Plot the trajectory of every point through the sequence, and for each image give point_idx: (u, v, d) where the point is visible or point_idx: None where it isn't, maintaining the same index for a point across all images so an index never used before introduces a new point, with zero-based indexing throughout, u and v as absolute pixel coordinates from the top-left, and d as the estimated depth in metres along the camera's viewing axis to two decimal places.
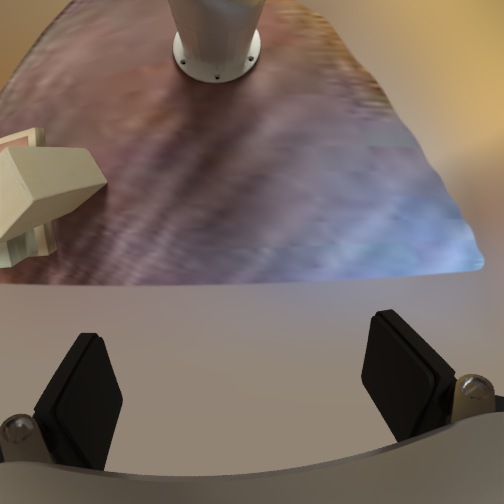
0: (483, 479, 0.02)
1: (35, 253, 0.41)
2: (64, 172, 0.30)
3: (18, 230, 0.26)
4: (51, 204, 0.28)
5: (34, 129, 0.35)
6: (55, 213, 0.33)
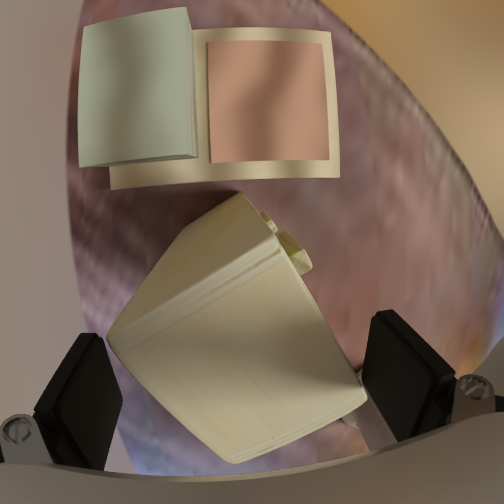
0: (483, 479, 0.02)
1: None
2: None
3: None
4: None
5: (336, 175, 0.26)
6: None
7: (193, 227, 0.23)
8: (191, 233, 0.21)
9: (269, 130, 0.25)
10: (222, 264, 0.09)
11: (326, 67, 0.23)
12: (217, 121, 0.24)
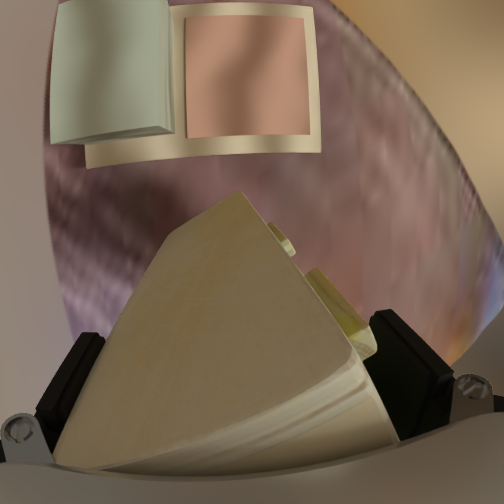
0: (483, 479, 0.02)
1: None
2: None
3: None
4: None
5: (317, 150, 0.25)
6: None
7: (179, 239, 0.18)
8: (176, 252, 0.15)
9: (248, 104, 0.23)
10: (239, 413, 0.04)
11: (307, 41, 0.22)
12: (194, 96, 0.22)
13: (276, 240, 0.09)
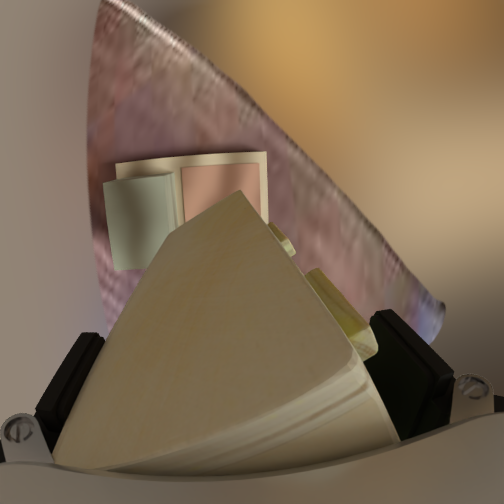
0: (483, 479, 0.02)
1: None
2: None
3: None
4: None
5: None
6: None
7: (179, 239, 0.18)
8: (176, 252, 0.15)
9: None
10: (238, 414, 0.04)
11: (261, 181, 0.40)
12: None
13: (276, 240, 0.09)
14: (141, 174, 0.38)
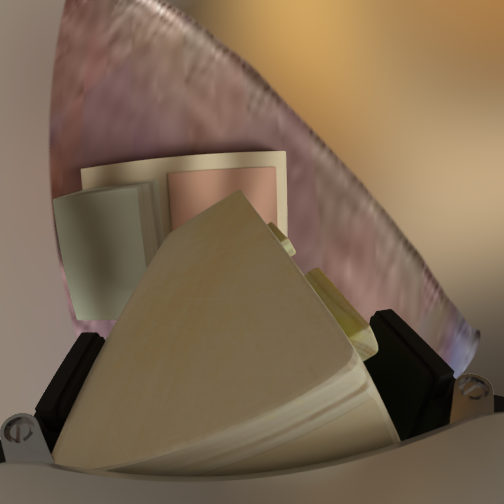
0: (483, 479, 0.02)
1: None
2: None
3: None
4: None
5: None
6: None
7: (179, 239, 0.18)
8: (176, 252, 0.15)
9: None
10: (238, 415, 0.04)
11: (279, 192, 0.29)
12: None
13: (276, 239, 0.09)
14: (114, 183, 0.27)
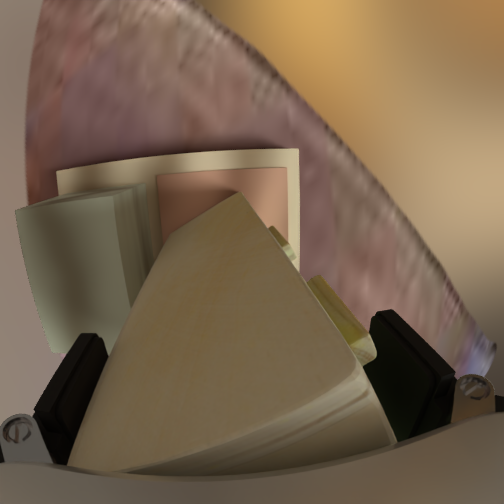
0: (483, 479, 0.02)
1: None
2: None
3: None
4: None
5: None
6: None
7: (181, 241, 0.18)
8: (179, 255, 0.16)
9: None
10: (254, 419, 0.04)
11: (290, 197, 0.24)
12: None
13: (281, 249, 0.09)
14: (94, 187, 0.22)
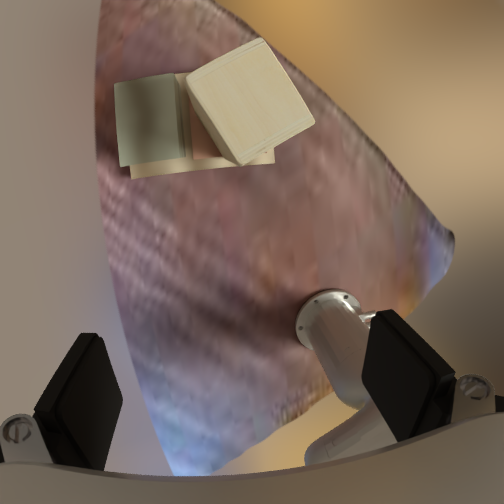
0: (483, 479, 0.02)
1: None
2: None
3: (197, 105, 0.22)
4: (222, 146, 0.26)
5: (272, 162, 0.42)
6: (202, 120, 0.30)
7: None
8: None
9: None
10: (241, 46, 0.18)
11: None
12: (196, 133, 0.39)
13: None
14: None
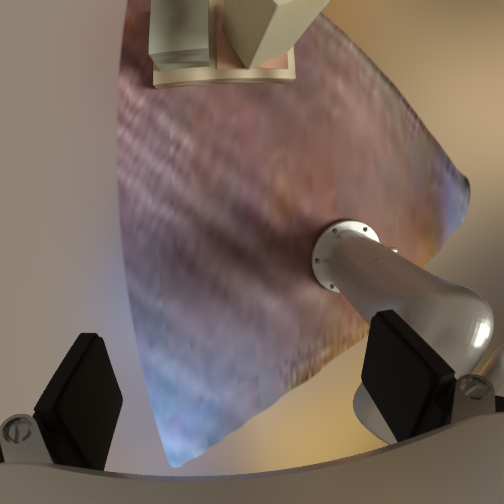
0: (483, 479, 0.02)
1: (156, 67, 0.37)
2: (281, 33, 0.27)
3: None
4: (254, 17, 0.23)
5: (293, 77, 0.39)
6: (233, 15, 0.27)
7: None
8: None
9: None
10: None
11: None
12: (221, 47, 0.36)
13: None
14: None
